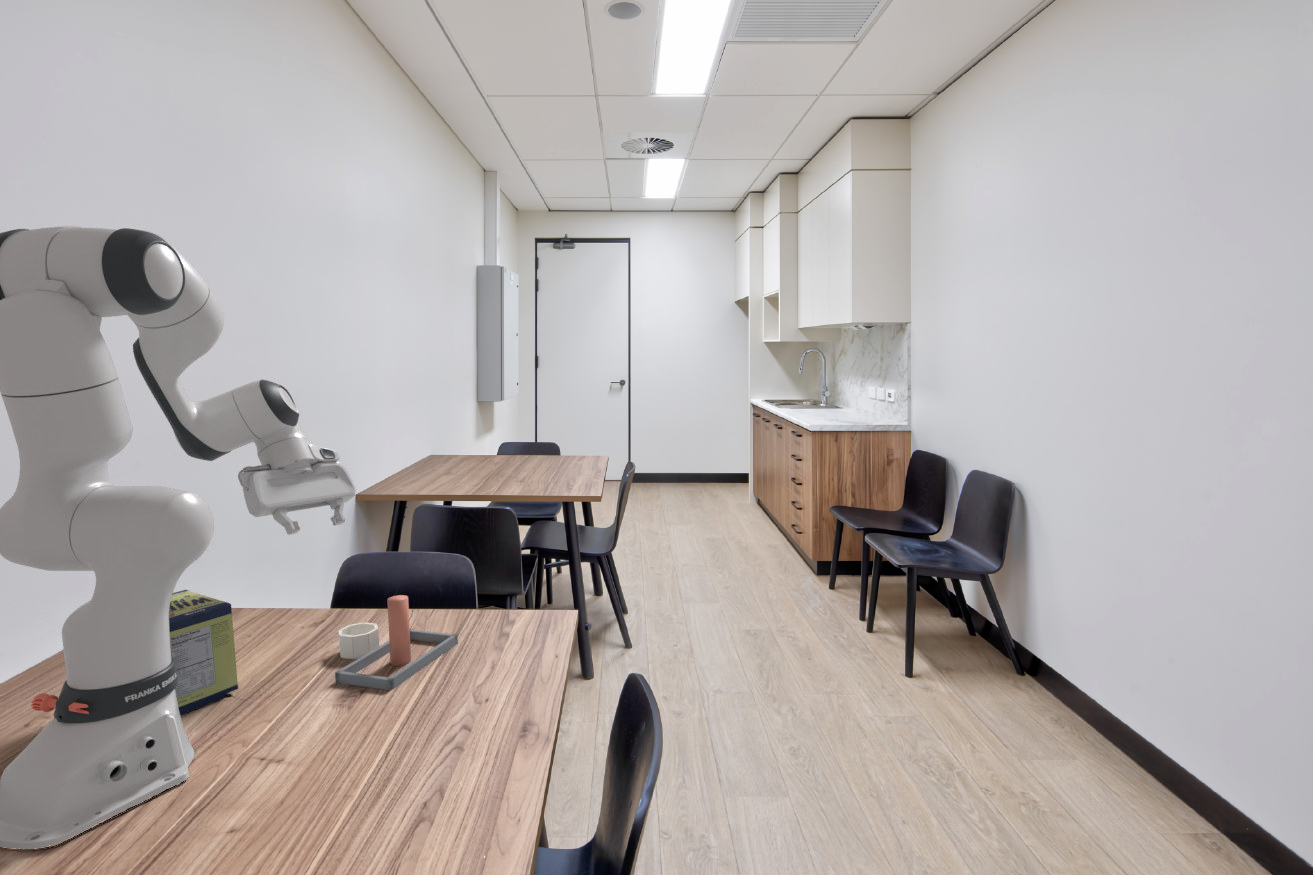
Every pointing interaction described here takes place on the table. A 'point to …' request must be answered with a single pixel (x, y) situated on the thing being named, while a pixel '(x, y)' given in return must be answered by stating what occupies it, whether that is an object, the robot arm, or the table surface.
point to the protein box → (201, 649)
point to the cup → (358, 640)
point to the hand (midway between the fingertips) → (317, 528)
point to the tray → (353, 678)
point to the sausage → (399, 630)
